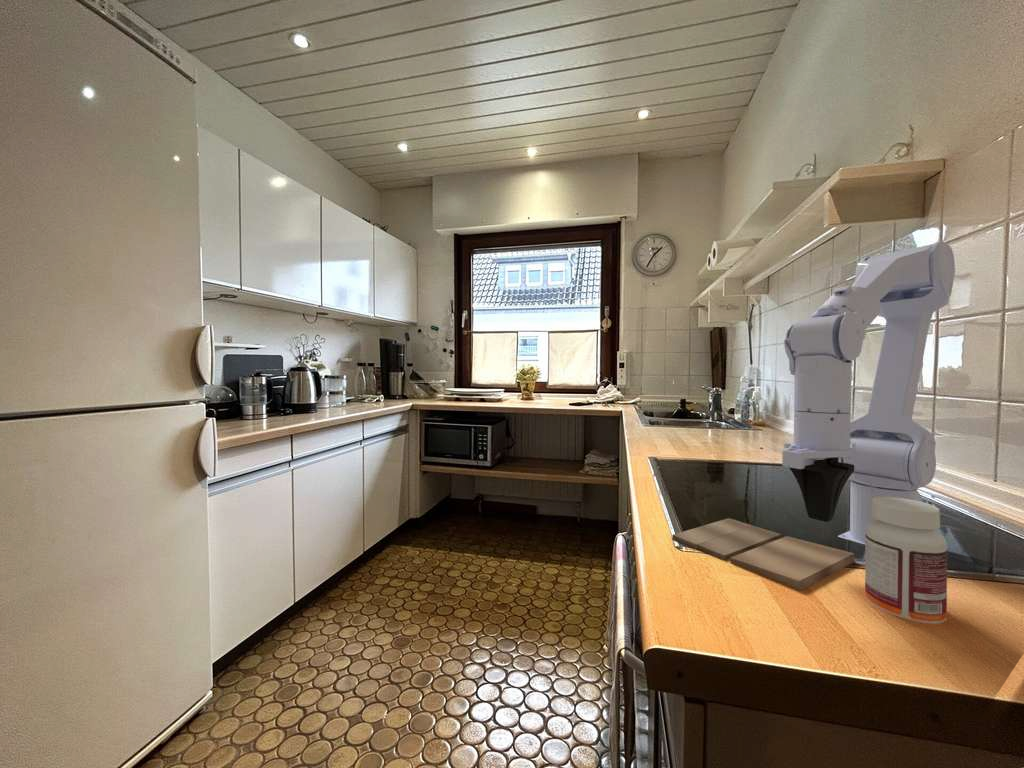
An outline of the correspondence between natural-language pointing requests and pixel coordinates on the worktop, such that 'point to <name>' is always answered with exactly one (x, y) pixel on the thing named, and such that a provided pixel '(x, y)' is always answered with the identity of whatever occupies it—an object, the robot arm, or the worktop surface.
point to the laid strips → (726, 538)
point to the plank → (794, 561)
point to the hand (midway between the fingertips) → (819, 519)
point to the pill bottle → (906, 560)
